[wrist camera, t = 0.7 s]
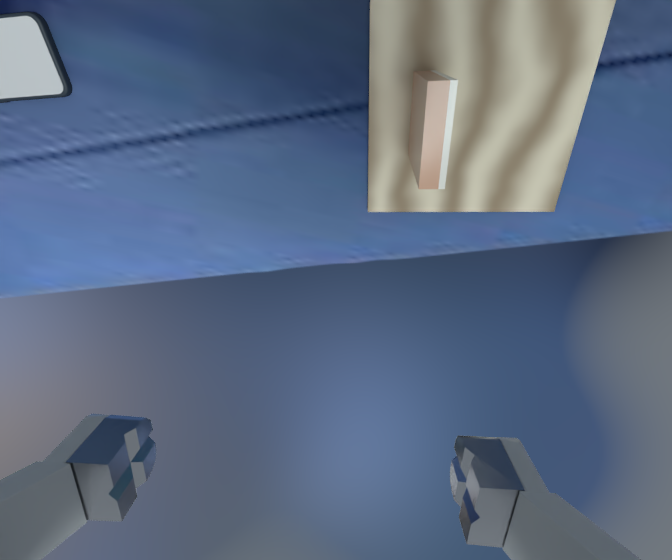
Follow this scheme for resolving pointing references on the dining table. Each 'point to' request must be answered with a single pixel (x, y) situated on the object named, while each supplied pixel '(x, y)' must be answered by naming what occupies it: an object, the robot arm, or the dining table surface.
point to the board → (482, 98)
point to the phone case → (30, 60)
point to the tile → (431, 127)
